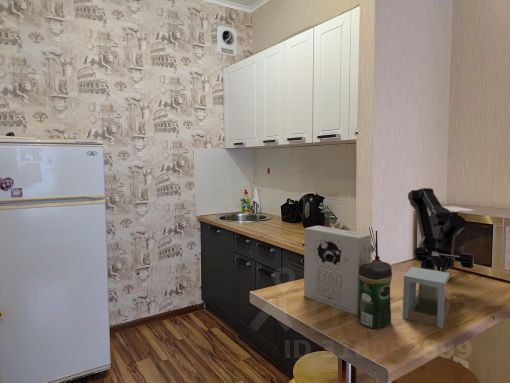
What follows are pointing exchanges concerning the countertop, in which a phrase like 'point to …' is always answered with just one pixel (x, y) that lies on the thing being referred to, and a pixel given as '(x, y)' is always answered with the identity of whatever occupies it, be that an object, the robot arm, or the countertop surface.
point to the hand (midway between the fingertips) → (440, 278)
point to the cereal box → (335, 266)
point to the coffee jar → (375, 294)
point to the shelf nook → (412, 296)
